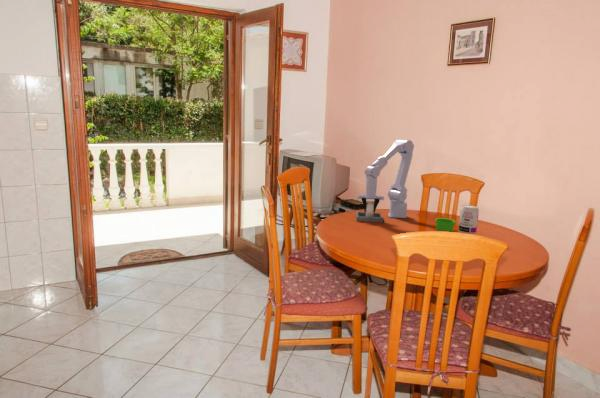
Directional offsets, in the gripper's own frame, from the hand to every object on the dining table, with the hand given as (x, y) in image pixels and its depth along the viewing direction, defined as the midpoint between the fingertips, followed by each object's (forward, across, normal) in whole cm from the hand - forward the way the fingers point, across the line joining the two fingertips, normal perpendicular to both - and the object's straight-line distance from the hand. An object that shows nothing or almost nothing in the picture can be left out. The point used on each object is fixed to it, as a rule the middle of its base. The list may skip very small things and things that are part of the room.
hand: (369, 212), depth 235 cm
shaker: (+2, 0, 0) cm, 2 cm away
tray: (+4, 0, 0) cm, 4 cm away
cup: (+4, +31, -39) cm, 50 cm away
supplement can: (+4, +46, -24) cm, 52 cm away
